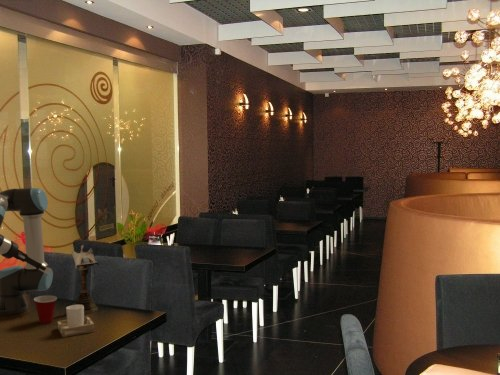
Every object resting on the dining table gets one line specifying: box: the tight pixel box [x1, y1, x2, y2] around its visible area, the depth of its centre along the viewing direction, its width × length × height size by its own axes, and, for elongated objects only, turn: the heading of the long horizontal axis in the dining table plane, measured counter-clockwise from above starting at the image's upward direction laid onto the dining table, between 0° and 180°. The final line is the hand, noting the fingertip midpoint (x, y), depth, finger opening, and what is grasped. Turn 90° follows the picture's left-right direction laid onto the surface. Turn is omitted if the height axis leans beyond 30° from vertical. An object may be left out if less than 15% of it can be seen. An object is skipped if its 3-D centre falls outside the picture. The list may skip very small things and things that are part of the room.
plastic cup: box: [33, 295, 58, 325], centre depth 261 cm, size 11×11×12 cm
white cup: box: [65, 304, 85, 328], centre depth 247 cm, size 8×8×10 cm
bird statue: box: [71, 244, 100, 315], centre depth 275 cm, size 17×13×35 cm
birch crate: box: [56, 316, 95, 338], centre depth 247 cm, size 14×14×4 cm
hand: (42, 268), depth 252 cm, fingers open, 13 cm apart
